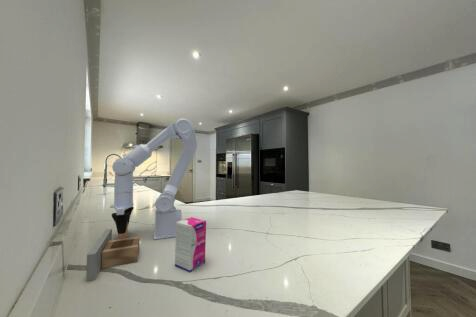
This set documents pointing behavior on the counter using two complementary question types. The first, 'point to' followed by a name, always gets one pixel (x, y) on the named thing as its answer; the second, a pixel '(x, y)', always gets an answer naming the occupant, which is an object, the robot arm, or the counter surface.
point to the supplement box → (190, 243)
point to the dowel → (124, 235)
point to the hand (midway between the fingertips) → (123, 230)
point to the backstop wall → (97, 255)
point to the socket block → (121, 252)
